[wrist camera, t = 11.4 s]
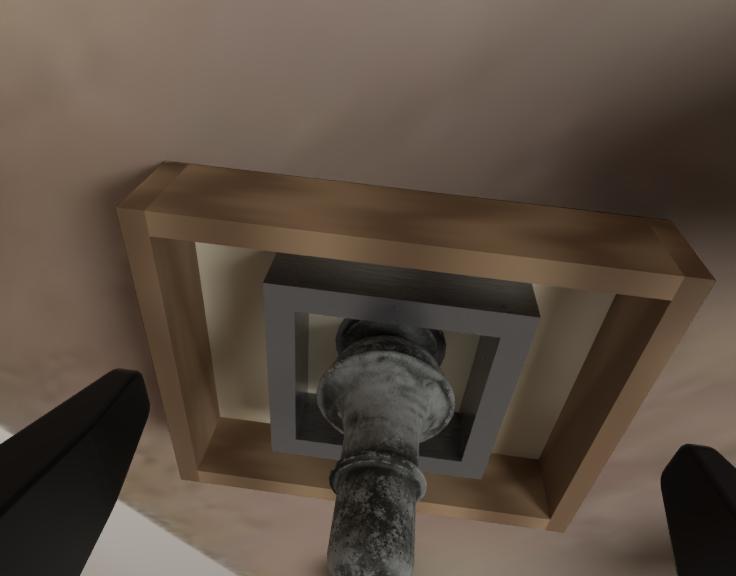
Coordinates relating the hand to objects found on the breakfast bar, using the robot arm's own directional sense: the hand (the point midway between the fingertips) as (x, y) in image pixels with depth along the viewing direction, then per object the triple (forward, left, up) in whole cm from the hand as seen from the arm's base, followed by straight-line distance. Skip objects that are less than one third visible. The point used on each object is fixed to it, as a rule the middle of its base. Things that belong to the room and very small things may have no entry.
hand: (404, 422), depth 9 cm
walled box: (0, +10, -13) cm, 16 cm away
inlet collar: (0, +10, -13) cm, 16 cm away
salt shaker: (0, +10, -13) cm, 16 cm away
